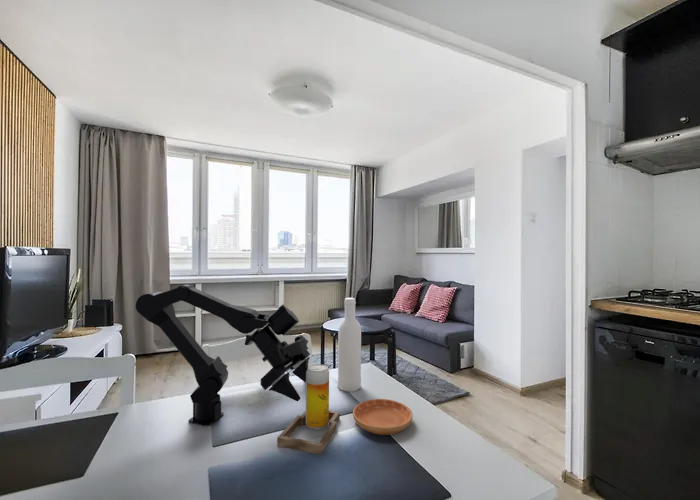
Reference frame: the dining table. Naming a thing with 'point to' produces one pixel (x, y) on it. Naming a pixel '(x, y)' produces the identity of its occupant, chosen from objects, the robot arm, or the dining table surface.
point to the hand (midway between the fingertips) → (306, 392)
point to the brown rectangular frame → (305, 445)
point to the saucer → (382, 416)
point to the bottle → (349, 349)
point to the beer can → (317, 396)
